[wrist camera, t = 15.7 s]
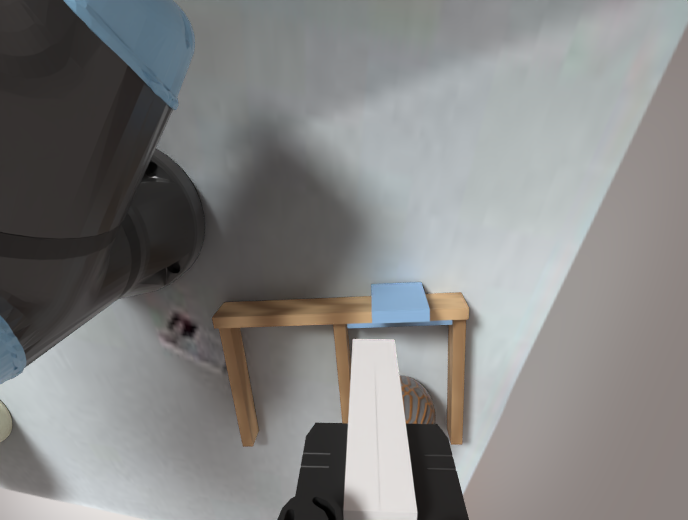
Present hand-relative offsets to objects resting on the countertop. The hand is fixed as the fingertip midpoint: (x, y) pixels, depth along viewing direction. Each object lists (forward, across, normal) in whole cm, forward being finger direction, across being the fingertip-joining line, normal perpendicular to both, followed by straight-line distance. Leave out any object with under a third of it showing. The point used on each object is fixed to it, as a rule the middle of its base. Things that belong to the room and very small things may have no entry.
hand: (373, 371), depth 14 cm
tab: (+25, +3, -8) cm, 26 cm away
